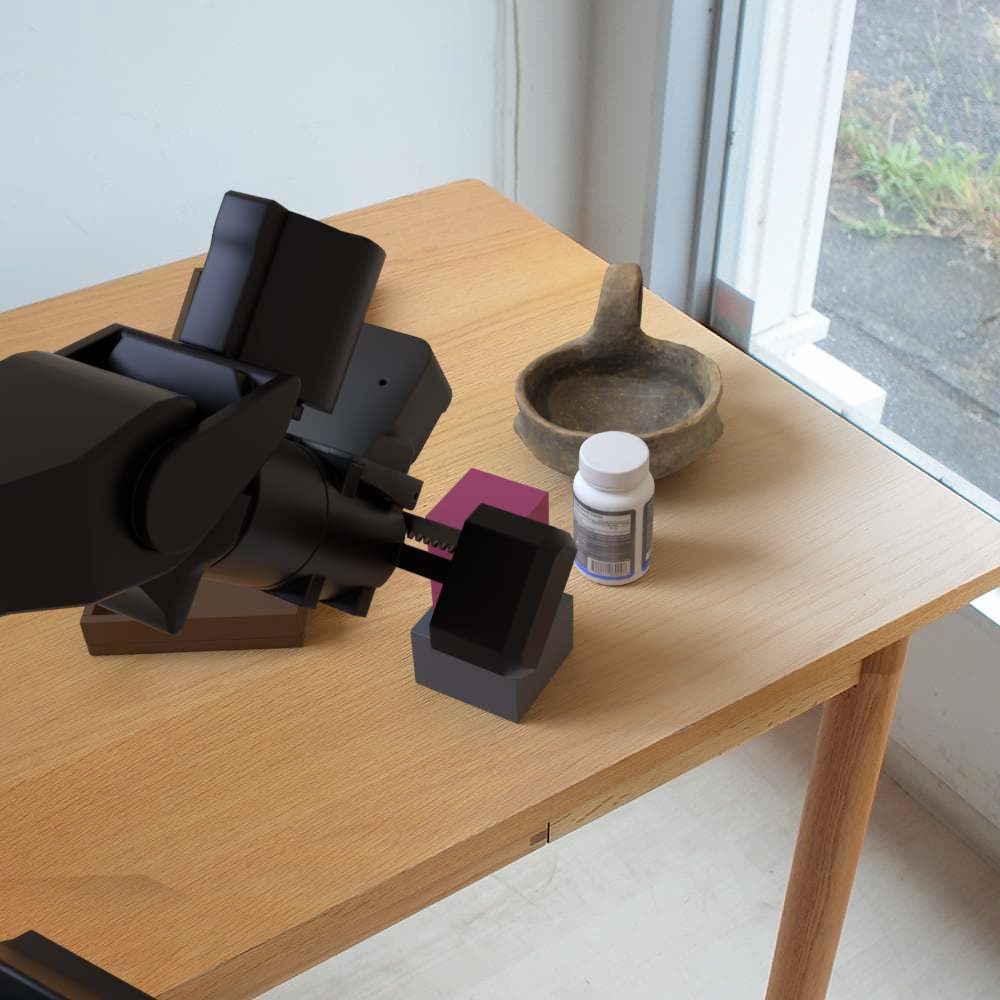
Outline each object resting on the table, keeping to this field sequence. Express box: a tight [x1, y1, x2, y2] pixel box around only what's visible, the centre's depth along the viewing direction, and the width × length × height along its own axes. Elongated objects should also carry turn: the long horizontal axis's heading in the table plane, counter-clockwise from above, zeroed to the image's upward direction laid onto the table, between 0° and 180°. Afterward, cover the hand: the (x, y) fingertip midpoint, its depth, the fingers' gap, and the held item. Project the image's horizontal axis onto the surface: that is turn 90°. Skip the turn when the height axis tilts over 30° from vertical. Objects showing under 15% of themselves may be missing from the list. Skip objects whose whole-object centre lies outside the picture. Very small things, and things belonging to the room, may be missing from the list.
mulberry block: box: [424, 467, 550, 612], centre depth 69 cm, size 5×5×8 cm
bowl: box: [512, 262, 725, 481], centre depth 87 cm, size 14×18×10 cm
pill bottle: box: [572, 431, 656, 586], centre depth 78 cm, size 5×5×8 cm
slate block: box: [409, 592, 574, 724], centre depth 73 cm, size 6×6×4 cm
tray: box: [79, 266, 309, 656], centre depth 91 cm, size 41×12×3 cm, turn 1°
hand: (436, 560), depth 63 cm, fingers open, 9 cm apart
